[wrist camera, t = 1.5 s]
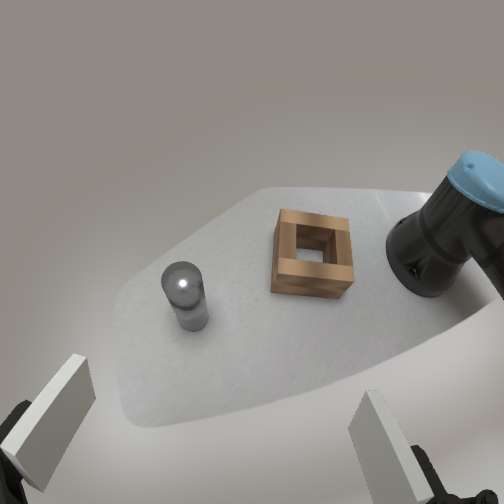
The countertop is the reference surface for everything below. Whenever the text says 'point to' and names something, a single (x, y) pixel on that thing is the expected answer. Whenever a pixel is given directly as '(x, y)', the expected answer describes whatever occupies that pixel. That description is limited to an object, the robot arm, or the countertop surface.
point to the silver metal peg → (186, 294)
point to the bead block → (317, 238)
